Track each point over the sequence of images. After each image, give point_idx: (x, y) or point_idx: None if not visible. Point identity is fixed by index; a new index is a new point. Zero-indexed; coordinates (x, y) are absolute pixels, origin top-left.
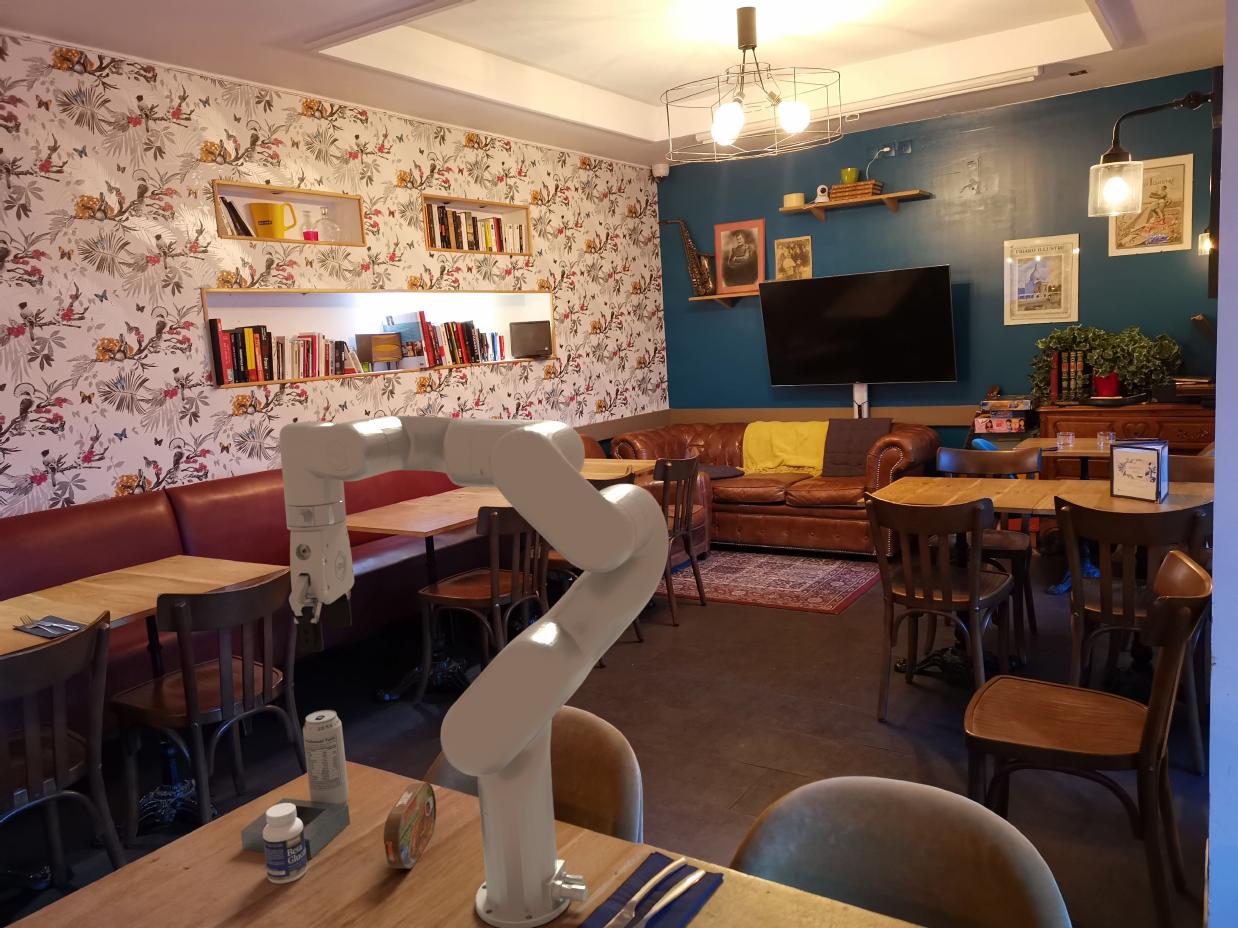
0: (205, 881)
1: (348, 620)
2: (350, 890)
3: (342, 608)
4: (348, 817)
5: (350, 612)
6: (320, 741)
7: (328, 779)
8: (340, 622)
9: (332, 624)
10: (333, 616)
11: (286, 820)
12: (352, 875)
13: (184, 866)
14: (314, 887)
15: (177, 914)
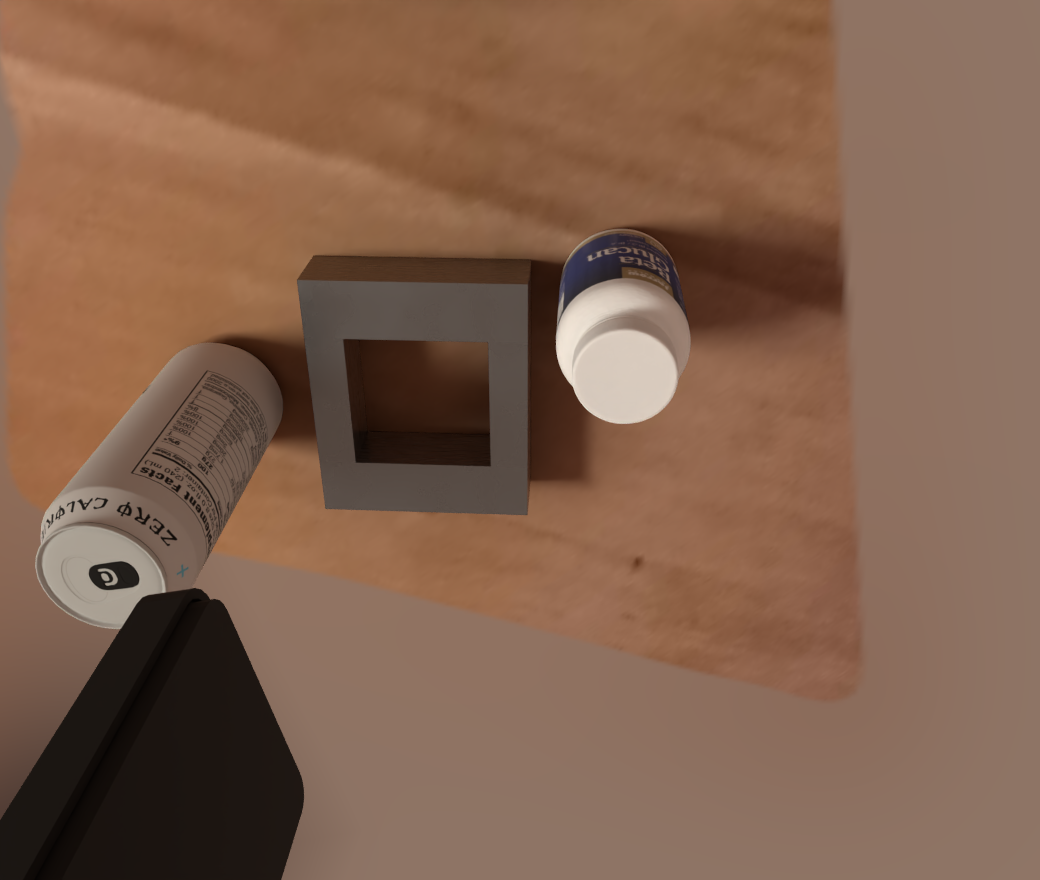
0: (688, 481)
1: (180, 658)
2: (676, 11)
3: (136, 876)
4: (313, 263)
5: (76, 731)
6: (194, 503)
7: (236, 409)
8: (236, 727)
9: (284, 787)
10: (245, 865)
11: (657, 328)
12: (594, 58)
13: (631, 572)
14: (676, 151)
15: (836, 456)
